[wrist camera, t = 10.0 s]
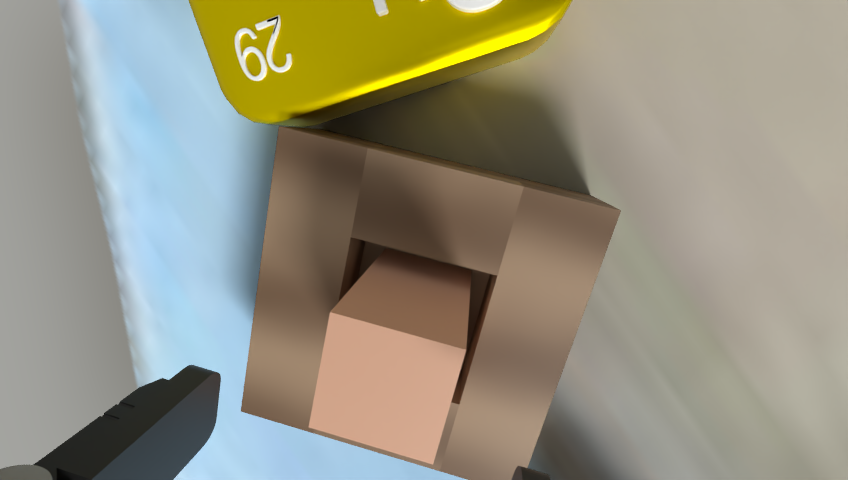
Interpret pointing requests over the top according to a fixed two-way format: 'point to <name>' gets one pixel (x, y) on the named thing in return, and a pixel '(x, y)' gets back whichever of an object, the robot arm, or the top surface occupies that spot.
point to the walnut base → (439, 241)
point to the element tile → (358, 49)
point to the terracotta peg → (394, 355)
